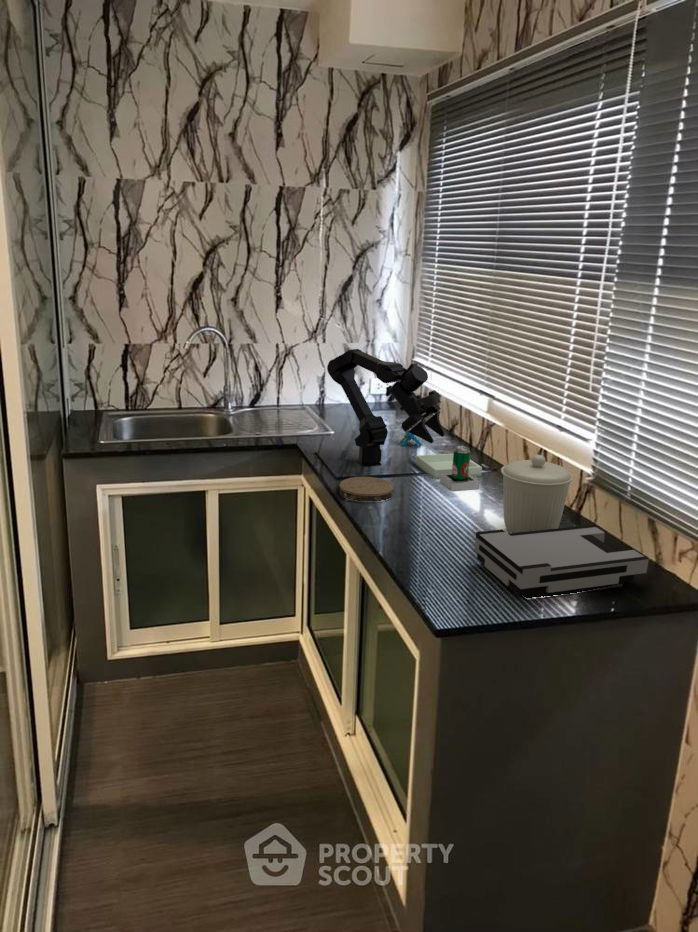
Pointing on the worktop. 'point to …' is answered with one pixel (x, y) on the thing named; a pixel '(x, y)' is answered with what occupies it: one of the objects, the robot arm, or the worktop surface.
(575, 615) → the worktop surface
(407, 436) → the gear
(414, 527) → the worktop surface
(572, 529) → the game console
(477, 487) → the steel socket
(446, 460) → the sage tray
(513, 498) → the canister
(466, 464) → the soda can
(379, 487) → the tan round disc
